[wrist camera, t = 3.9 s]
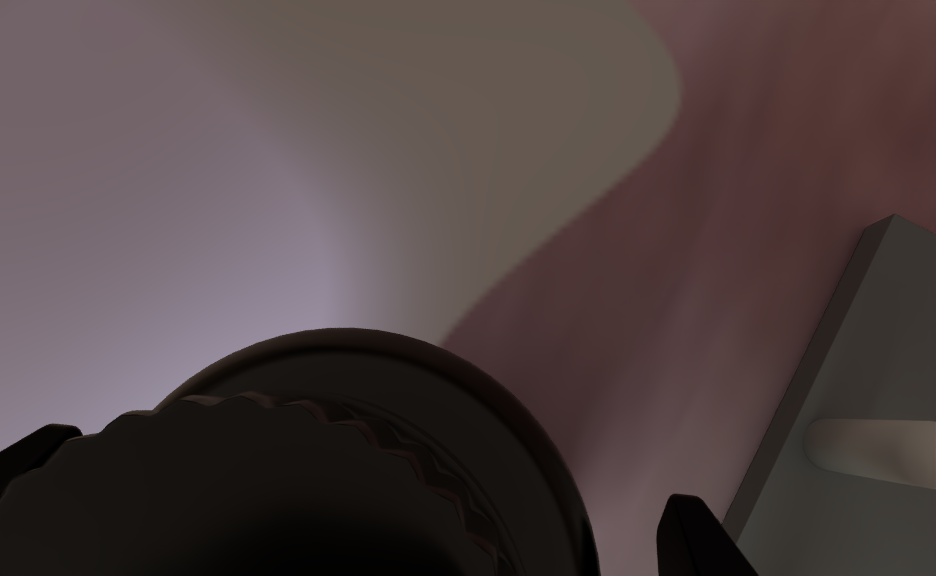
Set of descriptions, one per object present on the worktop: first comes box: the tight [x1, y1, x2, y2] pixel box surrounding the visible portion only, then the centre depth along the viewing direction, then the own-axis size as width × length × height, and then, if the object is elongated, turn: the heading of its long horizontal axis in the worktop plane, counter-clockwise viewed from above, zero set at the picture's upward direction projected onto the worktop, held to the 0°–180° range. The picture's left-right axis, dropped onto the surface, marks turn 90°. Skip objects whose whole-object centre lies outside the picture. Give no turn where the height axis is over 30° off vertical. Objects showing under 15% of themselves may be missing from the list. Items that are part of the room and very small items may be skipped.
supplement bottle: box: [0, 328, 601, 576], centre depth 10 cm, size 7×7×12 cm
